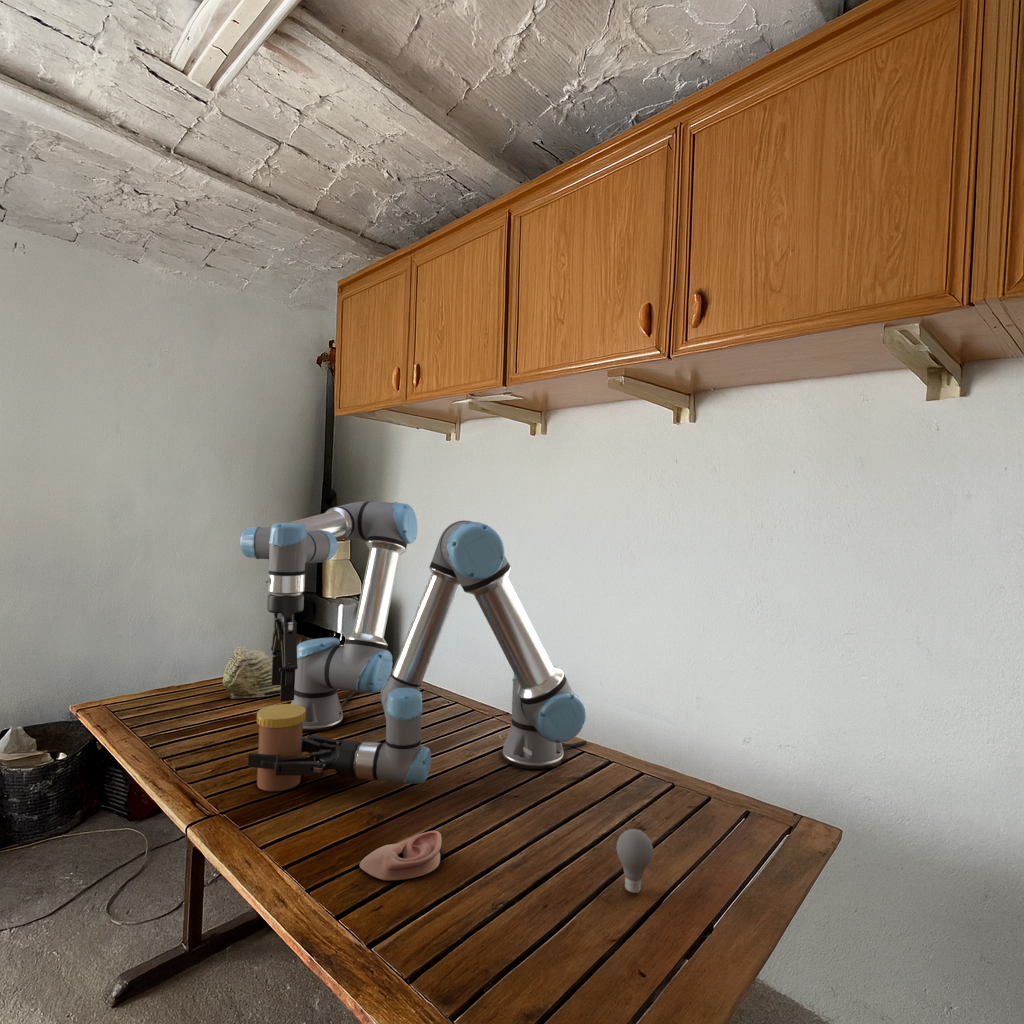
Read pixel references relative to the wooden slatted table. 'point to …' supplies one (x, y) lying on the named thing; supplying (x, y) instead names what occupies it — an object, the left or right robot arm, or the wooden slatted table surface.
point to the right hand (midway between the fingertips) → (260, 750)
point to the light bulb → (634, 857)
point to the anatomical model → (405, 858)
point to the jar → (281, 744)
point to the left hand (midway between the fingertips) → (282, 692)
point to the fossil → (249, 674)
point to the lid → (281, 715)
